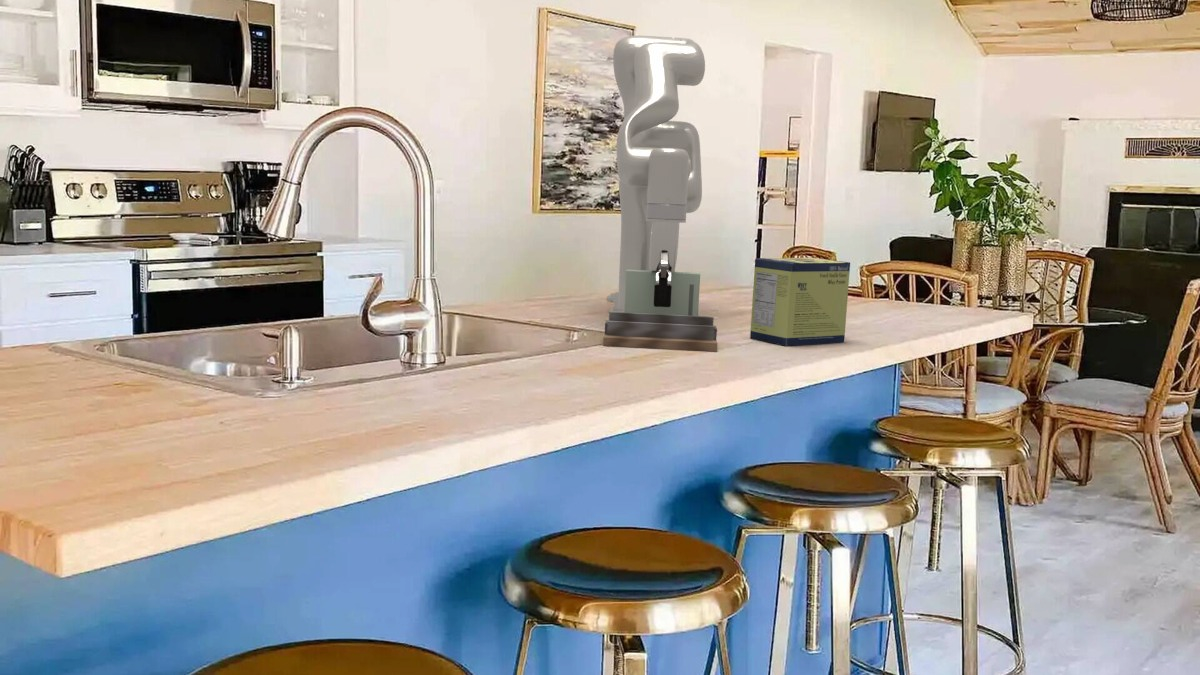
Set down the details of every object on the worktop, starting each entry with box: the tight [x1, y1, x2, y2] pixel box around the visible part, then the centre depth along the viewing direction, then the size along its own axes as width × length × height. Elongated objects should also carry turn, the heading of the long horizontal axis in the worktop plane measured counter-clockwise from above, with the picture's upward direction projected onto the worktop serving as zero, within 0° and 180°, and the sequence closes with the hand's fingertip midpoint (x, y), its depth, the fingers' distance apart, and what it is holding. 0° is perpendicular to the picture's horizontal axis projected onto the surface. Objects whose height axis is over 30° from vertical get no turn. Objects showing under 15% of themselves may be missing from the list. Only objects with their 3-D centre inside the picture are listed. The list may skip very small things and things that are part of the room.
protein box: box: [749, 257, 851, 347], centre depth 224 cm, size 10×16×16 cm
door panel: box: [624, 269, 701, 316], centre depth 225 cm, size 14×3×12 cm, turn 87°
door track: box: [602, 311, 718, 353], centre depth 213 cm, size 20×12×5 cm, turn 87°
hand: (662, 304), depth 225 cm, fingers open, 9 cm apart
